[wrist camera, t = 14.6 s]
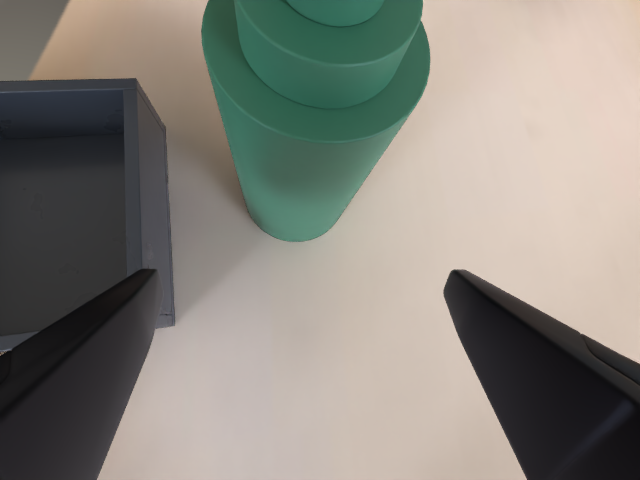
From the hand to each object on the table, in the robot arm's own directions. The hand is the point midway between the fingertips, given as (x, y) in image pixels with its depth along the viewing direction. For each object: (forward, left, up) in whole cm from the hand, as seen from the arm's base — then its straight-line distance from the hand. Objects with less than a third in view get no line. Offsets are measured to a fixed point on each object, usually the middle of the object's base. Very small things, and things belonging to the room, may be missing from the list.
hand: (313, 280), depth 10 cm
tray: (+5, +12, -8) cm, 15 cm away
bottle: (+6, -1, -8) cm, 10 cm away
